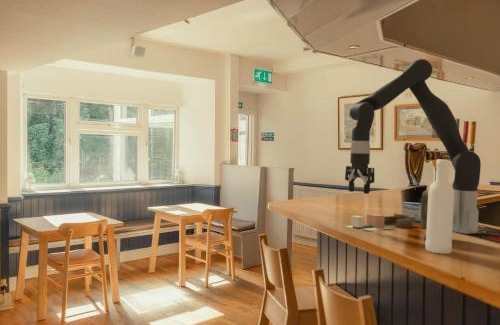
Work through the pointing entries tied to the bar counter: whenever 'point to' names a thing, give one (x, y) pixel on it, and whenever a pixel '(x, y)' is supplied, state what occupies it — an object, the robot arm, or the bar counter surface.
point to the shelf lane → (394, 222)
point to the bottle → (440, 211)
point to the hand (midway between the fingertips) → (358, 192)
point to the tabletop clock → (424, 211)
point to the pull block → (368, 221)
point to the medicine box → (412, 210)
